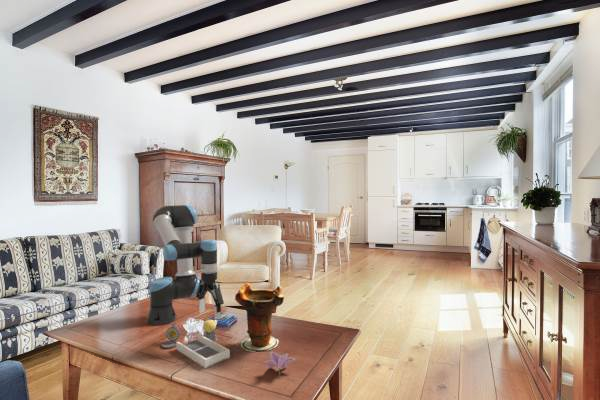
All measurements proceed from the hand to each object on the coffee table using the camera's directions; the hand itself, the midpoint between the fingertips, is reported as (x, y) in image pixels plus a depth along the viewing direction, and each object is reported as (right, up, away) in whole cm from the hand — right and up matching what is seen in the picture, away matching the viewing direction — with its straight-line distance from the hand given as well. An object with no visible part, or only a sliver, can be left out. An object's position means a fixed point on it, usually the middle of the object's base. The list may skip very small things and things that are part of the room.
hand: (209, 315), depth 162 cm
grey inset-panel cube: (0, -12, 0) cm, 12 cm away
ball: (0, -8, 0) cm, 8 cm away
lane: (0, -12, -14) cm, 18 cm away
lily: (+36, -13, -29) cm, 48 cm away
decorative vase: (+25, -12, -3) cm, 28 cm away
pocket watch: (-17, -12, -5) cm, 21 cm away
